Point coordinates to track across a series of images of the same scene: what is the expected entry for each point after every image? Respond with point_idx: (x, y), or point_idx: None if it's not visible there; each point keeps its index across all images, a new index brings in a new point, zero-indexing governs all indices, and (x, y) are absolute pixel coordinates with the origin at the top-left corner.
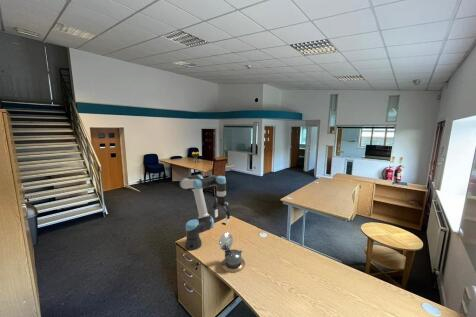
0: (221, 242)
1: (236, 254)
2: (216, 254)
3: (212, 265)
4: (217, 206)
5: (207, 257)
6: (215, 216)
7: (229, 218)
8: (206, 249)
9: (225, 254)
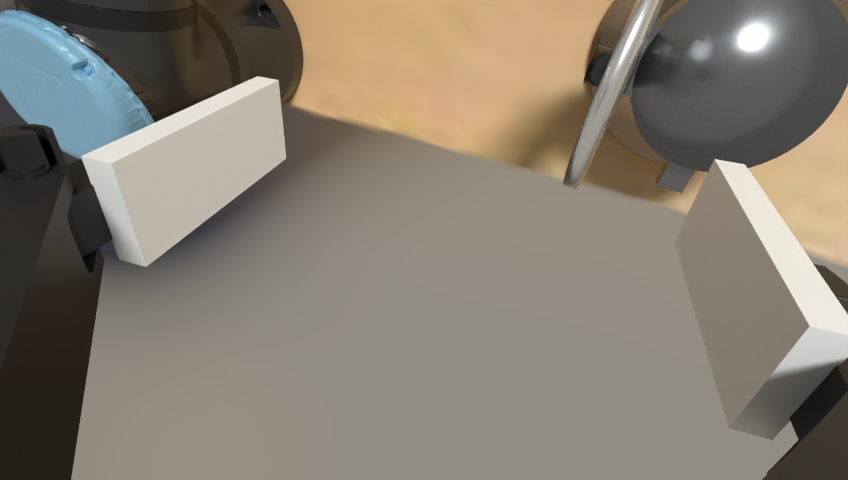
0: (588, 162)
1: (779, 64)
2: (481, 30)
3: (539, 158)
4: (69, 431)
5: (444, 105)
6: (269, 168)
7: (828, 276)
8: (361, 24)
9: (645, 127)
